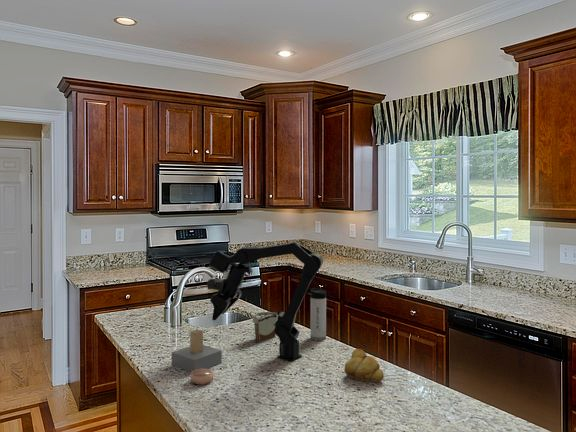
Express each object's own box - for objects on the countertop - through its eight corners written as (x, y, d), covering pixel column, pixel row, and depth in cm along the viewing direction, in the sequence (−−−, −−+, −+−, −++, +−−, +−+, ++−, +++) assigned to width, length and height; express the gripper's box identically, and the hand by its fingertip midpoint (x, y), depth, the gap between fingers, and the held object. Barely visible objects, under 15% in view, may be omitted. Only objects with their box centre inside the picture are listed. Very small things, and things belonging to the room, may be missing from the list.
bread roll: (389, 380, 148) (389, 355, 148) (370, 389, 142) (370, 363, 141) (358, 369, 158) (358, 345, 157) (338, 376, 151) (338, 352, 151)
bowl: (218, 380, 147) (217, 371, 147) (200, 388, 142) (200, 378, 142) (203, 375, 152) (202, 366, 151) (185, 382, 146) (185, 373, 146)
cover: (221, 362, 163) (221, 330, 162) (194, 373, 153) (194, 339, 153) (198, 355, 170) (198, 324, 170) (171, 364, 161) (171, 332, 160)
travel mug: (317, 334, 196) (317, 286, 194) (329, 337, 191) (329, 289, 190) (306, 337, 191) (306, 289, 190) (318, 341, 186) (319, 291, 185)
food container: (266, 333, 197) (266, 310, 196) (277, 336, 193) (277, 312, 192) (246, 340, 187) (245, 316, 186) (257, 344, 183) (257, 318, 183)
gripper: (223, 265, 181) (207, 301, 183) (206, 273, 163) (189, 313, 165) (248, 278, 179) (233, 314, 181) (234, 287, 161) (216, 327, 163)
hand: (217, 316), depth 173 cm, fingers open, 9 cm apart
